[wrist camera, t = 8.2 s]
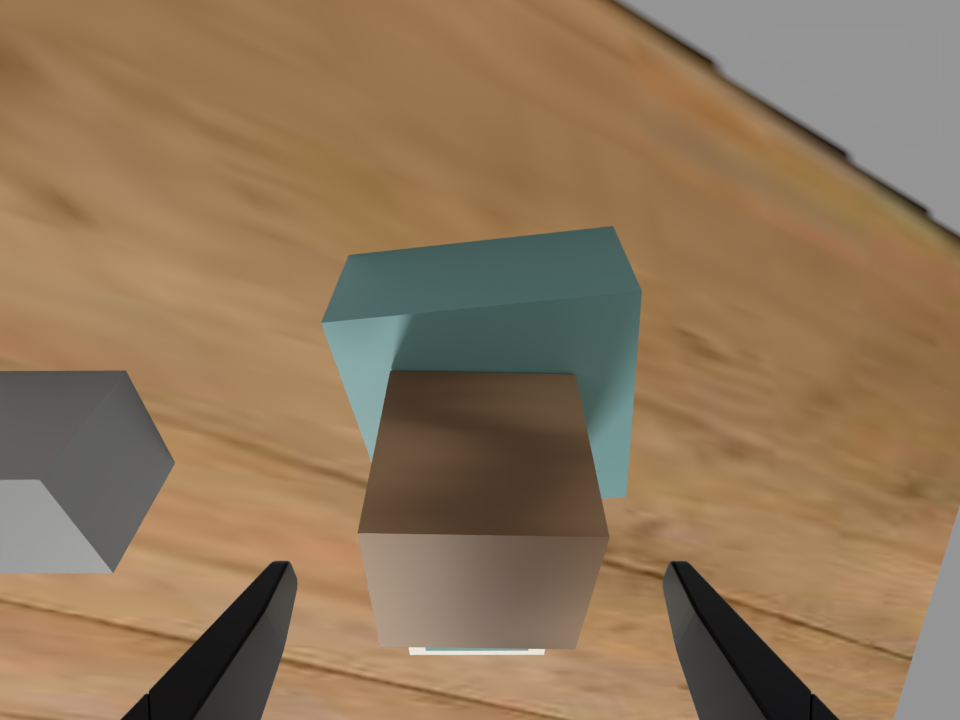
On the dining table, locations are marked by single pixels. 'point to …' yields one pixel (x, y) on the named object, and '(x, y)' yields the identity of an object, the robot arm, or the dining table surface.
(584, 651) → the dining table surface
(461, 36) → the dining table surface
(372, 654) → the dining table surface
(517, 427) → the walnut block
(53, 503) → the slate grey block
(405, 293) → the teal base block
